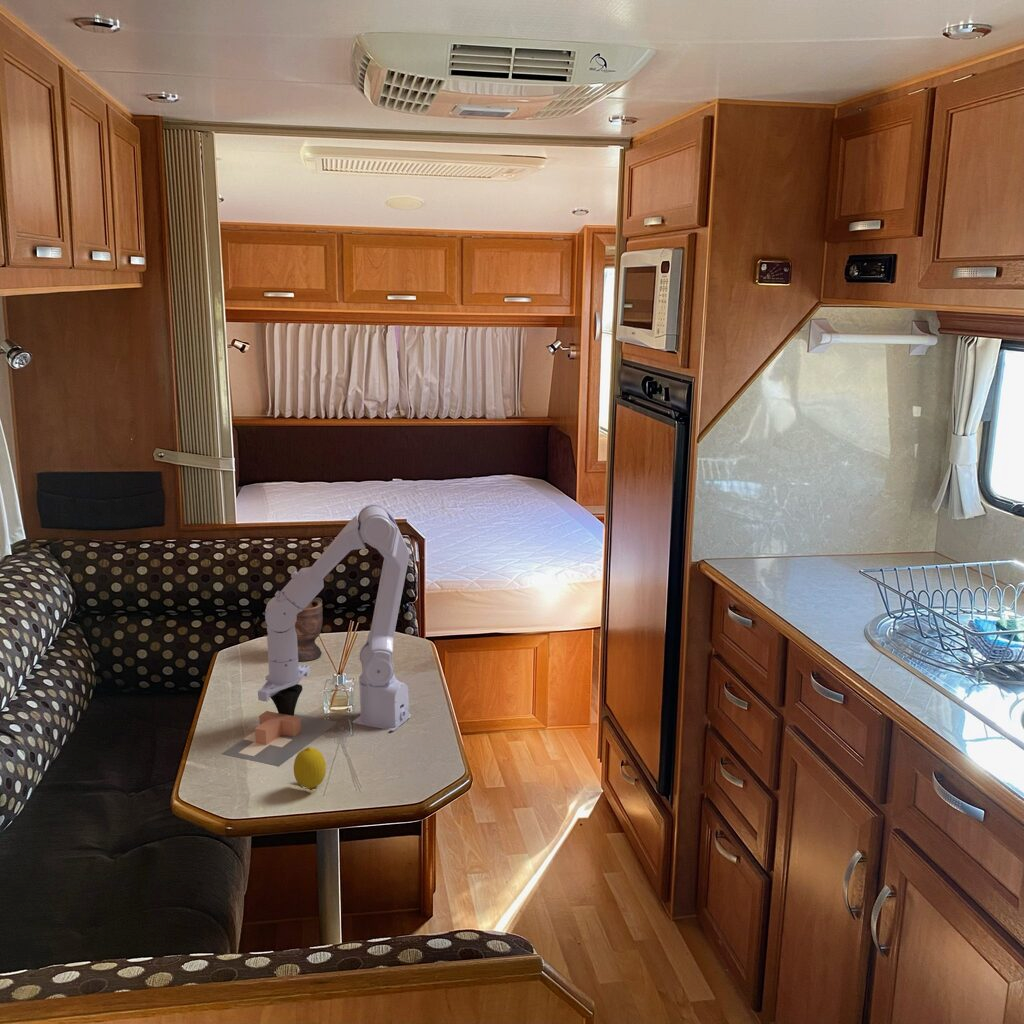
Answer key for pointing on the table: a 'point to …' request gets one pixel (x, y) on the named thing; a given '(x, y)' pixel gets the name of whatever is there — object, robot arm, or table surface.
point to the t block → (276, 726)
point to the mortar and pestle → (309, 631)
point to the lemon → (309, 768)
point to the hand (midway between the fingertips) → (286, 721)
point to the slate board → (280, 743)
